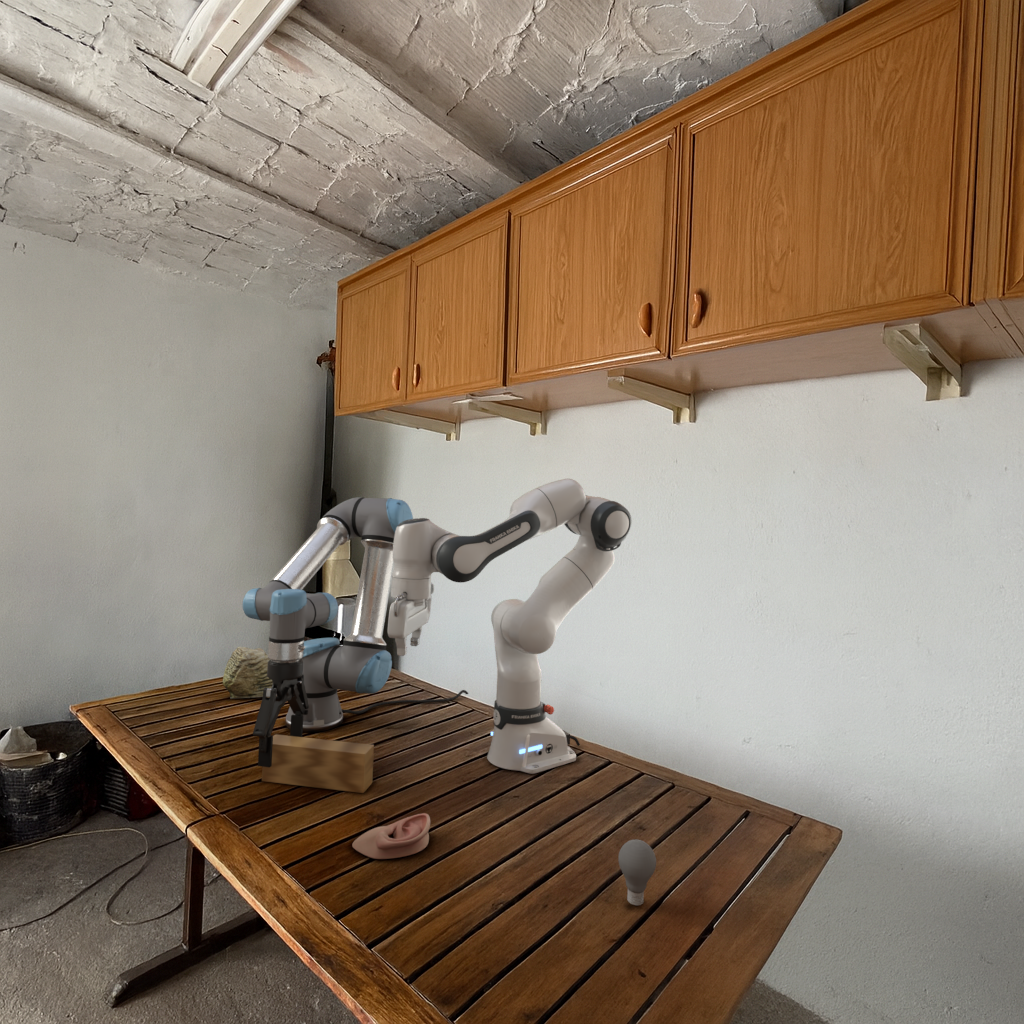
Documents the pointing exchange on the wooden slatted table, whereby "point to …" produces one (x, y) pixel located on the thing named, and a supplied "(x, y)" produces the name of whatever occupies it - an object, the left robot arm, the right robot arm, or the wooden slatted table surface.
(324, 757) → the bar
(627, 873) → the light bulb
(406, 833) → the anatomical model
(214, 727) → the wooden slatted table surface
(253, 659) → the fossil
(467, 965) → the wooden slatted table surface
